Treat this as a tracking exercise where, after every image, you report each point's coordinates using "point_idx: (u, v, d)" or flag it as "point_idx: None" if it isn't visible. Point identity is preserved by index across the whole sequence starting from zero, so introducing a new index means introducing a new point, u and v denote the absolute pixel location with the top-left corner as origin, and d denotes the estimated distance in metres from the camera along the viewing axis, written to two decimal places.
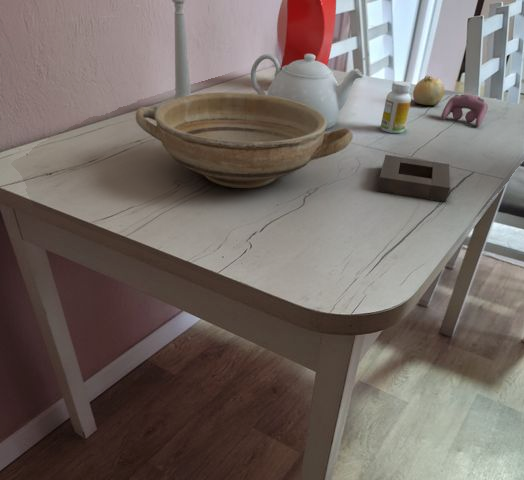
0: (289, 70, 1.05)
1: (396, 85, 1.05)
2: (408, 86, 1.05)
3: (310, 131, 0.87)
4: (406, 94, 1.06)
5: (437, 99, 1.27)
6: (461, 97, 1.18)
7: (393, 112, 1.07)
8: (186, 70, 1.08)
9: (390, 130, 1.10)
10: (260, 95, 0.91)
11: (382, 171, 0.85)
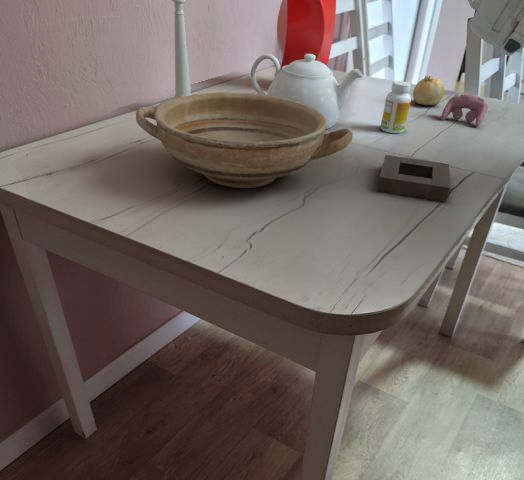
0: (289, 70, 1.05)
1: (396, 85, 1.05)
2: (408, 86, 1.05)
3: (310, 131, 0.87)
4: (406, 94, 1.06)
5: (437, 99, 1.27)
6: (461, 97, 1.18)
7: (393, 112, 1.07)
8: (186, 70, 1.08)
9: (390, 130, 1.10)
10: (260, 95, 0.91)
11: (382, 171, 0.85)
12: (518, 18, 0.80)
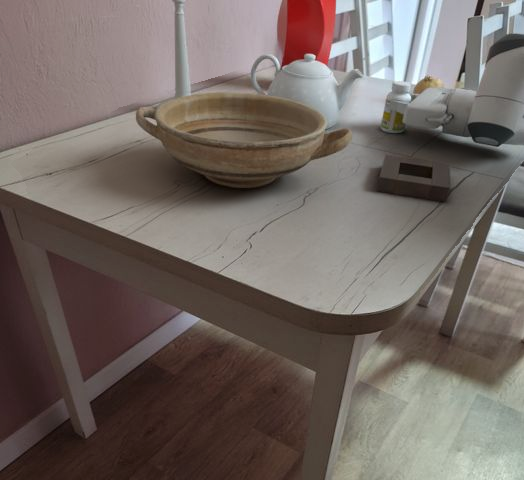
0: (289, 70, 1.05)
1: (396, 85, 1.05)
2: (408, 86, 1.05)
3: (310, 131, 0.87)
4: (406, 94, 1.06)
5: None
6: None
7: (393, 112, 1.07)
8: (186, 70, 1.08)
9: (391, 130, 1.10)
10: (260, 95, 0.91)
11: (382, 171, 0.85)
12: None
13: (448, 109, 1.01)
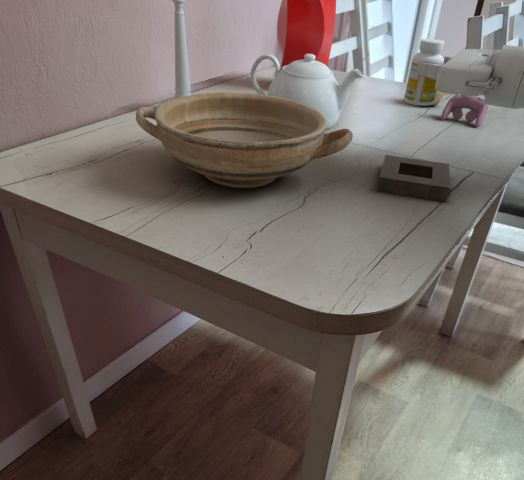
0: (289, 70, 1.05)
1: (426, 43, 0.82)
2: (441, 44, 0.82)
3: (310, 131, 0.87)
4: (438, 54, 0.83)
5: (437, 99, 1.27)
6: (461, 97, 1.18)
7: (421, 78, 0.85)
8: (186, 70, 1.08)
9: (417, 102, 0.87)
10: (260, 95, 0.91)
11: (382, 171, 0.85)
12: None
13: (494, 71, 0.78)
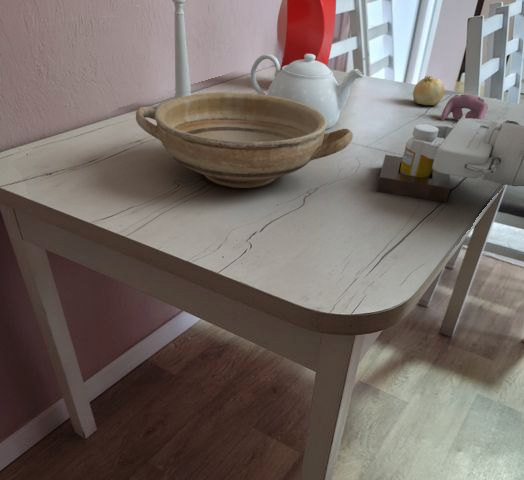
0: (289, 70, 1.05)
1: (419, 131, 0.81)
2: (435, 132, 0.81)
3: (310, 131, 0.87)
4: (431, 142, 0.82)
5: (437, 99, 1.27)
6: (461, 97, 1.18)
7: (415, 164, 0.83)
8: (186, 70, 1.08)
9: None
10: (260, 95, 0.91)
11: (382, 171, 0.85)
12: None
13: (493, 151, 0.76)
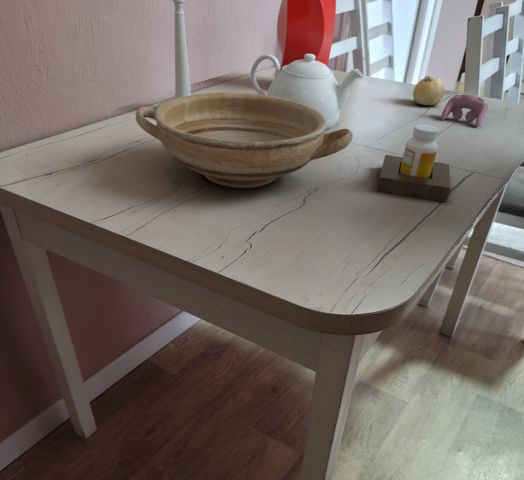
0: (289, 70, 1.05)
1: (419, 131, 0.81)
2: (435, 132, 0.81)
3: (310, 131, 0.87)
4: (431, 142, 0.82)
5: (437, 99, 1.27)
6: (461, 97, 1.18)
7: (415, 164, 0.83)
8: (186, 70, 1.08)
9: None
10: (260, 95, 0.91)
11: (382, 171, 0.85)
12: None
13: None
